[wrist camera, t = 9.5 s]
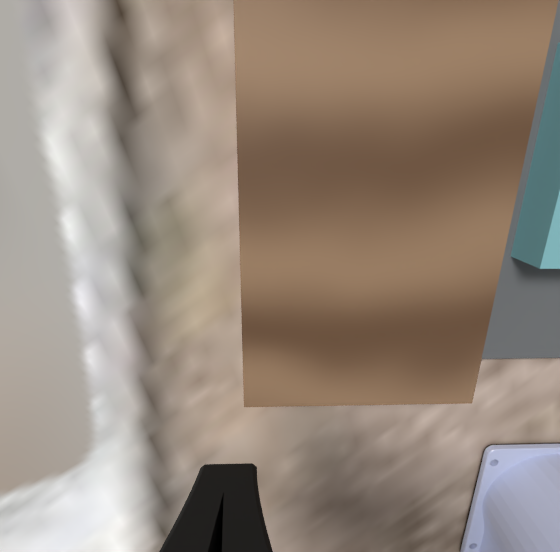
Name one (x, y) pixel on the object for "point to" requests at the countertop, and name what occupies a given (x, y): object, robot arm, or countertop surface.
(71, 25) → the countertop surface
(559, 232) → the thick teal block
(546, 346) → the mat
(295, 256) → the brown flat block
